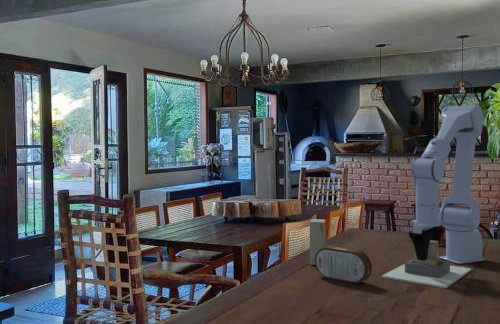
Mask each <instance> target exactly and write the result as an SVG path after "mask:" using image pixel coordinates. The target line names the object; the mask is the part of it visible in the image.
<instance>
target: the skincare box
mask: <svg viewBox="0 0 500 324" xmlns="http://www.w3.org/2000/svg"><path fill="white" fill-rule="evenodd" d="M326 221H327V220H326V219H320V218H318V219H317V218H314V219H313V218H311V219H310V221H309V265H310V266H316V265H315V255H316V253H317V251H318V250H319V249H321V248H323V247H324V246H326V245H327V240H326V239H327V234H326V233H327V231H326V227H327V225H326V224H327V223H326Z"/></svg>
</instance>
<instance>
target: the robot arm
mask: <svg viewBox="0 0 500 324" xmlns="http://www.w3.org/2000/svg"><path fill="white" fill-rule="evenodd" d="M440 120H441V127H440V129H439V132H438V133H437V136H436V137H435V138H432V139H430V141H429V142H428V145H426V147H425V149H424V152H423V153H422V155H421V157H420V158H416V159H415V160H414V161H413V162H412V165H411V169H410V175H411V177H412V181H413V183H412V184H413V187H415V219H412V220H411V223H410V224H413V225H412V230H410V231H408V236H409V238H410V239H411V242H412V244H413V249H414V248H415V252H416V256H417V259H418V260H424V261H426V260H427V256H428V248H429V243H430V240H432V241H438V250H439V247H440V246H439V244H440V240H441V238H442V235H443V233H444V232H445V229H446V243H445V255H441V256H440V255H438V259H442V260H443V261H445V260H446V261H447V262H450V263H455V264H458V265H459V264H460V265H462V264H467V263H469V264H470V263H475V262H484V261H485V260H486V259H485V258H484V257H483V236H482V234H481V232H480V230H478V229H477V228H478V227H479V226H480V224H481V209H480V207H481V206H480V202H479V201H477V200H476V199H475V198H474V197H473V196H472V195H471V193H472V192H471V191H472V181H473V180H472V179H473V170H474V163H475V162H474V159H475V150H476V142H477V138H479V137H480V136H482V132H483V126H484V125H483V123H484V113H483V109H482V107H481V106H480V105H479V104H474V105H473V104H472V105H460V106H459V105H457V106H455V105H454V106H449V105H448V106H447V105H446V106H444V107H443V108H442V111H441V116H440ZM454 139H455V140H456V148H455V150H456V151H455V160H454V168H453V177H452V178H453V179H452V189H451V194H449V195H447V196H446V197H444V198H443V199H442V202H441V209H440V212H439V207H440V181H441V180H442V179H443V176H444V172H445V171H444V170H445V167H446V163H445V162H446V160H447V158H448V156H449V154H450V153H451V151H452V148H451V142H452V141H453V140H454ZM441 224H442V225H443V226H444V227H439V226H440V225H441Z"/></svg>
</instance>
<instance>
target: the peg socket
mask: <svg viewBox="0 0 500 324" xmlns="http://www.w3.org/2000/svg"><path fill="white" fill-rule="evenodd" d="M471 271H472V268H471V267H470V268H469V267H465V266H464V267H463V266H458V265H457V266H455V265H451V261H447V260H446V261H445V260H439V259H438V267H437V266H430V265H423V264H416V263H414V257H413V258H411V259H410V260H408V261H405V263H404V264H402V265H400V266H398V267H395V268H394V269H392V270H390V271H388V272H385V273H384V274H383V275H381V278H382V279H383V278H384V279H389V280H395V281H399V282H405V283H412V284H416V285H423V286H427V287H428V286H430V287H434V288H441V289H447V288H449V287H450V286H452V285H453V284H455V282H457V281H458V280H459V279H462V278H463V277H464V276H466V275H467V274H468V273H469V272H471Z"/></svg>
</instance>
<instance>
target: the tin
mask: <svg viewBox="0 0 500 324" xmlns="http://www.w3.org/2000/svg"><path fill="white" fill-rule="evenodd" d="M314 266H315V268H316V270H317V271H318V273H319V275H321V276H322V277H323V278H325V279H328V280H335V281H339V282H343V283H348V282H349V284H353V283H355V284H356V285H357V284H360V283H362V282H365V281H366V280H368V279H369V278H370V276H371V274H372V271H373V266H372V262H371V259H370V257H369V255H368V254H367V253H366V252H364V251H363V250H361V249H358V248H354V247H347V246H339V245H334V244H326V246H324V247H323V248H321V249H319V250H318V251H317V253H316V255H315V265H314Z"/></svg>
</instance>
